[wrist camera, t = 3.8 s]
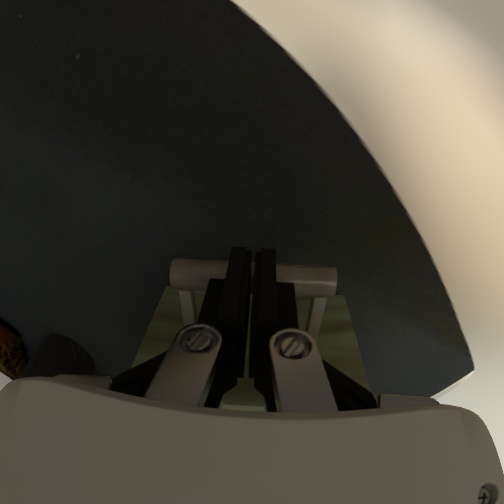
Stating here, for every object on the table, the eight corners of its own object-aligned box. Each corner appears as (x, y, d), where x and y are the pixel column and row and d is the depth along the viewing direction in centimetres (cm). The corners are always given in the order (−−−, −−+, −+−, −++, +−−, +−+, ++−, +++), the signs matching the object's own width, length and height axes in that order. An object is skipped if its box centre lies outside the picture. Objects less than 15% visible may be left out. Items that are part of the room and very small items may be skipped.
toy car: (-12, 306, 26) (-32, 330, 21) (23, 331, 27) (5, 358, 23) (4, 355, 31) (-10, 376, 27) (36, 376, 33) (23, 399, 28)
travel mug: (80, 380, 30) (30, 507, 13) (36, 342, 27) (-30, 469, 10) (108, 368, 28) (52, 524, 11) (57, 323, 25) (-25, 480, 8)
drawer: (155, 209, 17) (82, 302, 10) (361, 219, 17) (420, 321, 9) (189, 395, 27) (174, 470, 20) (310, 402, 27) (314, 478, 19)
